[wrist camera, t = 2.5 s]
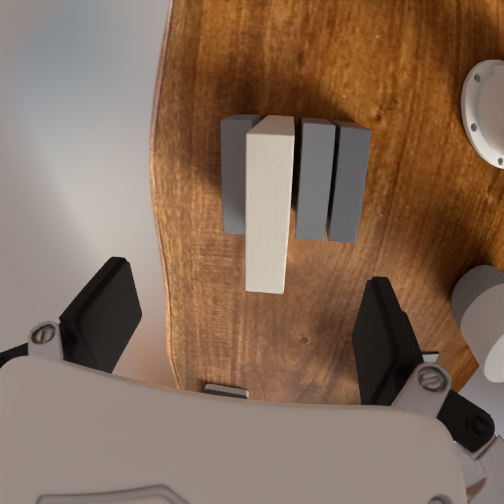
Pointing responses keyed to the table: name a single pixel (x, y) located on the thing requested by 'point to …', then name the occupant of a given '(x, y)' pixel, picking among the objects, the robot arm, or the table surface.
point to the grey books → (304, 176)
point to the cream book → (268, 202)
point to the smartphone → (226, 391)
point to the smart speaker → (482, 317)
